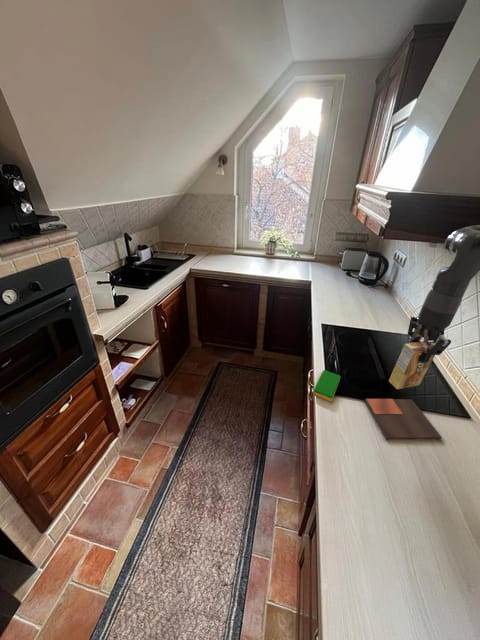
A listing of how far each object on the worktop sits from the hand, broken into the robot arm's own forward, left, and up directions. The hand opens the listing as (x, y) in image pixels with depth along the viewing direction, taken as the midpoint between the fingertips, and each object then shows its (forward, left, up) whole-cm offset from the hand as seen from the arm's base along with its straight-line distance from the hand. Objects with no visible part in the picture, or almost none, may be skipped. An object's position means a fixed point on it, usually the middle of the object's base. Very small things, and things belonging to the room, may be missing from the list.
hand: (416, 355), depth 77 cm
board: (-3, +2, -26) cm, 26 cm away
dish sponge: (+18, -13, -26) cm, 35 cm away
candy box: (0, 0, -12) cm, 12 cm away
